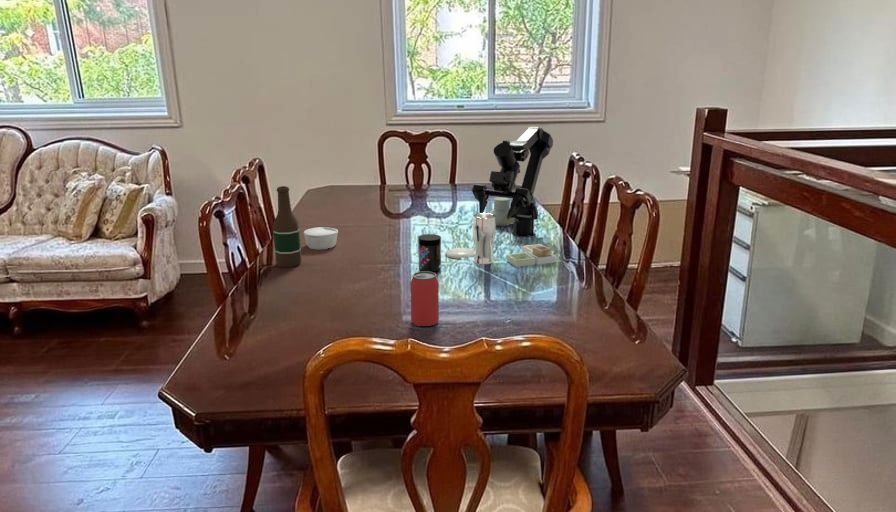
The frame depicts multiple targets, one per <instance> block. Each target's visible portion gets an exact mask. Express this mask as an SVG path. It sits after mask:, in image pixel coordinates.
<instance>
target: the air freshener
mask: <svg viewBox="0 0 896 512" xmlns="http://www.w3.org/2000/svg"><path fill="white" fill-rule="evenodd" d="M510 199H511V198H503V197H495V198H494V200H493V209H491V210H490V211H488V213H490V214H494V215H495V224H496V226H497V227H508V226H509V225H513V222H514V220H515V218H511V217H510V218H509V219H507V215H508V211H509V209H510V204H511V201H510Z"/></svg>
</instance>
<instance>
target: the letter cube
mask: <svg viewBox="0 0 896 512" xmlns="http://www.w3.org/2000/svg"><path fill="white" fill-rule="evenodd" d="M551 254H552V248H551V247H547V246H545V245H543V246H538V247H533V255H535V256H537V257H538V258H540V257H547V256H551Z"/></svg>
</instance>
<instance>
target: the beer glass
mask: <svg viewBox="0 0 896 512" xmlns="http://www.w3.org/2000/svg"><path fill="white" fill-rule="evenodd" d="M472 219H473V220H472V239H473V244H474V245H473V246H474V250H475V256H473V257H474V259H473V263H475V264H478V265H490V264H493V263H494V258H493V249H494V242H495V238H496V230H497V229H496V228H497V227H496V226H497V225H496V224H495V215H494V214H490V213H489V212H486V213H485V212H483V213H475V214H473V218H472Z"/></svg>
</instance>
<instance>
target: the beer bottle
mask: <svg viewBox="0 0 896 512" xmlns="http://www.w3.org/2000/svg"><path fill="white" fill-rule="evenodd" d="M276 192H277V215H276V216H275V218H274V221H273V224H272V225H273V226H272V229H273V230H272V233H273V241H274V243H273V244H274V255H275V264H276V266H278V267H280V268H286V269H287V268H295V267H298V266H300V265H301V263H302V247H301V235H300V225H299V221H298V219H297V217H296V215H295V214H294V213H293V211H292V206H291V199H290V188H289V186H285V185H282V186H278V187H277V188H276Z"/></svg>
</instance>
